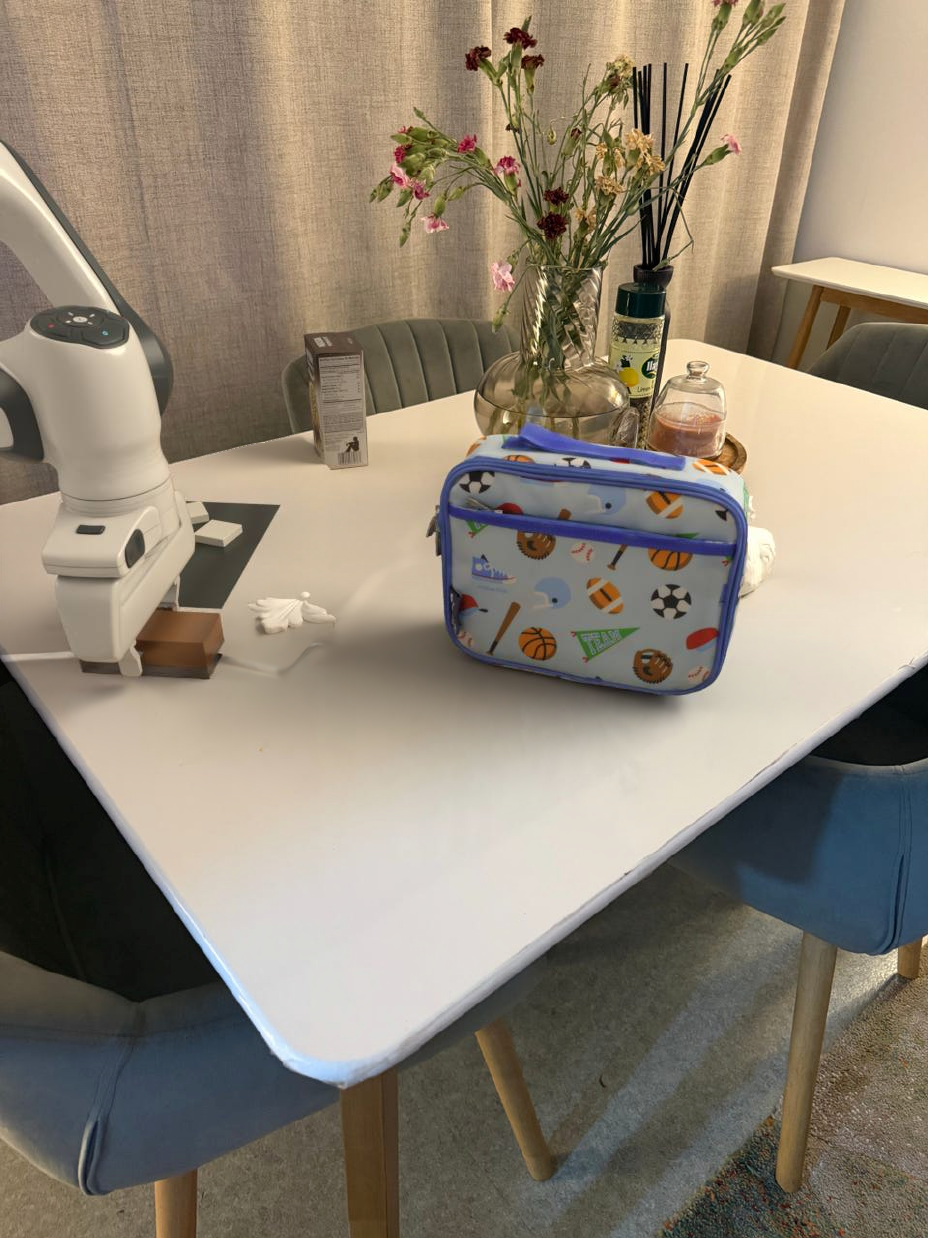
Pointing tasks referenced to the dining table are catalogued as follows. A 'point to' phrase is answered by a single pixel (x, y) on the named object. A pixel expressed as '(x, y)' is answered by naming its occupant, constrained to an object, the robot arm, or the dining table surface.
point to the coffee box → (337, 398)
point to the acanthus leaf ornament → (288, 613)
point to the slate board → (223, 554)
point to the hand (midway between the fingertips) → (152, 644)
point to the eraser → (174, 645)
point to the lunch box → (592, 560)
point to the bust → (757, 554)
